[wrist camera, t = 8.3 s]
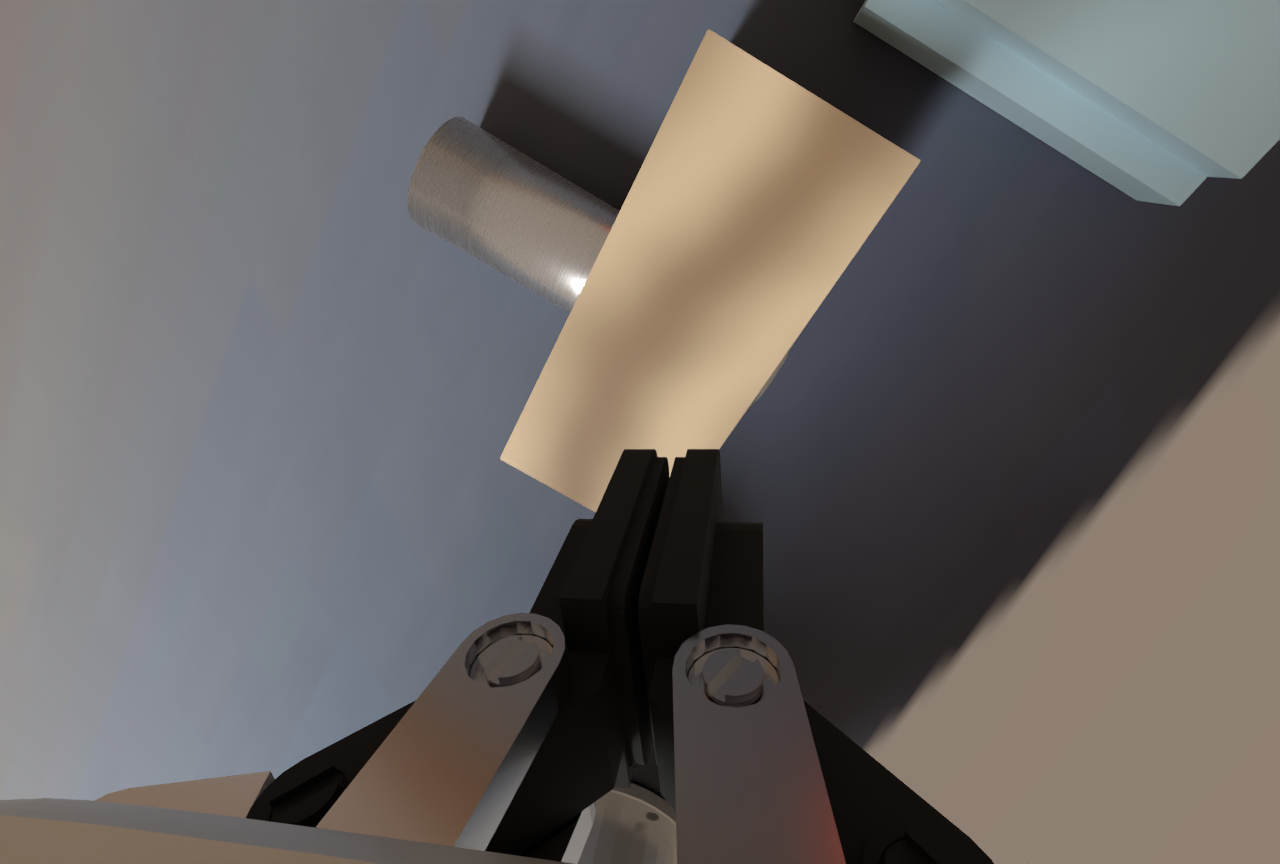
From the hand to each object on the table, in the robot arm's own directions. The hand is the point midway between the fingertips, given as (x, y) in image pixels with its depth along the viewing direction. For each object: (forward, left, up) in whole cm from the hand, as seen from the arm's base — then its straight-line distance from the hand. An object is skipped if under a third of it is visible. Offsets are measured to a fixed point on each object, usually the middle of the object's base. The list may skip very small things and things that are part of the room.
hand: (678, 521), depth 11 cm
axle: (+4, +3, -17) cm, 18 cm away
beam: (+1, +1, -17) cm, 17 cm away
